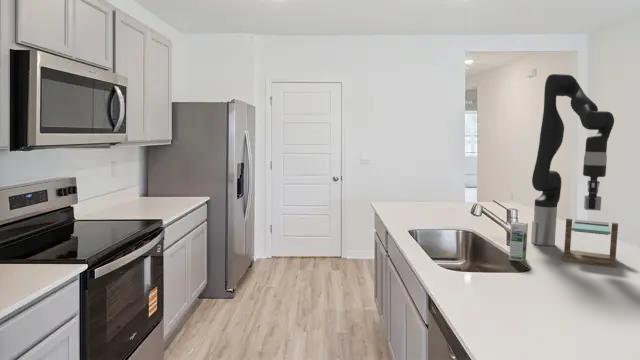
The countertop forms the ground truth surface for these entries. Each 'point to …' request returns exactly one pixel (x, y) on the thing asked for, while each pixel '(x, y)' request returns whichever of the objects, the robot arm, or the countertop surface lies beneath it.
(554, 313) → the countertop surface
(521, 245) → the syrup box
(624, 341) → the countertop surface
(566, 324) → the countertop surface
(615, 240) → the frame
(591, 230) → the trapdoor
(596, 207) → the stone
